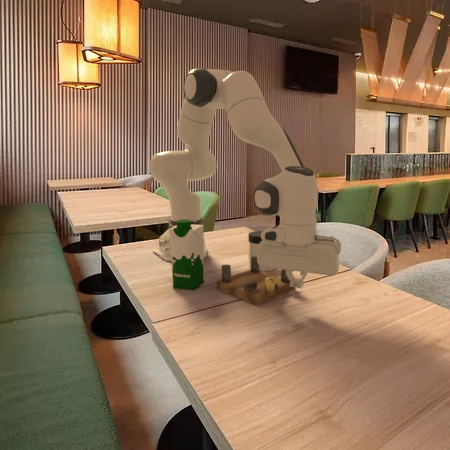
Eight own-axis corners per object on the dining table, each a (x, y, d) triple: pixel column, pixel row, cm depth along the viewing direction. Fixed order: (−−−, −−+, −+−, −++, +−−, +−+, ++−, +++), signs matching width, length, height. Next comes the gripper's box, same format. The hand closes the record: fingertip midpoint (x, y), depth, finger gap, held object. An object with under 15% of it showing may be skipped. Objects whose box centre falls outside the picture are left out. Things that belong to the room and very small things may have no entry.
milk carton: (168, 289, 112) (165, 221, 108) (182, 278, 121) (179, 216, 116) (196, 292, 109) (194, 223, 105) (208, 281, 118) (206, 217, 114)
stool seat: (216, 288, 112) (216, 265, 110) (254, 275, 122) (254, 254, 121) (256, 305, 100) (257, 279, 99) (295, 289, 111) (295, 266, 109)
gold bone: (267, 282, 108) (267, 268, 107) (277, 283, 107) (277, 269, 106) (263, 294, 100) (263, 279, 99) (274, 295, 99) (274, 280, 98)
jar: (257, 274, 124) (257, 237, 121) (242, 267, 131) (242, 233, 128) (278, 268, 129) (279, 233, 126) (263, 262, 135) (263, 229, 133)
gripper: (343, 234, 93) (340, 288, 96) (263, 227, 101) (263, 277, 104) (339, 240, 87) (336, 297, 90) (254, 232, 96) (254, 285, 99)
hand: (296, 286), depth 97 cm, fingers closed
